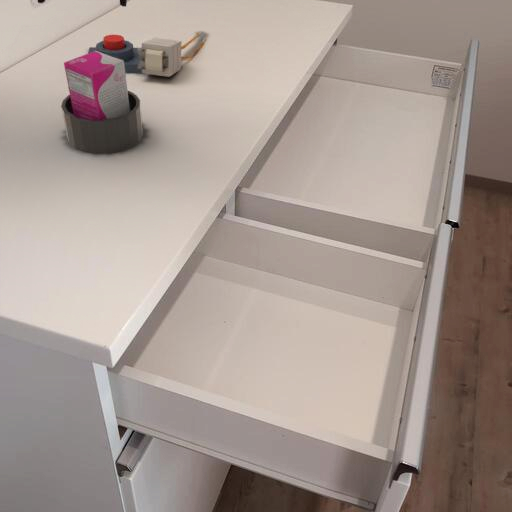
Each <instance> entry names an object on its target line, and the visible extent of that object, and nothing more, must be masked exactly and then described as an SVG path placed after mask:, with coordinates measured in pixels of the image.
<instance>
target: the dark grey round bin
mask: <svg viewBox="0 0 512 512" xmlns="http://www.w3.org/2000/svg"><path fill="white" fill-rule="evenodd" d="M128 98H129V106H130V112H129V113H127V114H125V115H122V116H119V117H116V118H110V119H95V120H93V119H86V118H81V117H78V116H75V115H74V113H73V107H72V102H71V97H70V94H68V95H67V96H66V97H65V98H64V99H63V100H62V101H61V102H62V103H61V113H62V118H63V122H64V128H65V134H66V139H67V141H68V143H69V145H70V146H72V147H73V148H74V149H76V150H77V151H81V152H83V153H87V154H88V153H89V154H94V155H109V154H116V153H121V152H124V151H126V150H129V149H131V148H133V147H135V146H136V145H137V144H139V143H140V141H141V140H142V139H143V136H144V135H143V133H144V132H143V120H142V108H141V100H140V98H139V97H138V95H137V94H136V93H134V92H132V91H131V90H128Z"/></svg>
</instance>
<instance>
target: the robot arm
mask: <svg viewBox="0 0 512 512" xmlns="http://www.w3.org/2000/svg"><path fill="white" fill-rule="evenodd" d="M45 2H46V0H37V3H38V4H44V3H45ZM127 2H128V0H119V5H120V6H121V7H127Z"/></svg>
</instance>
